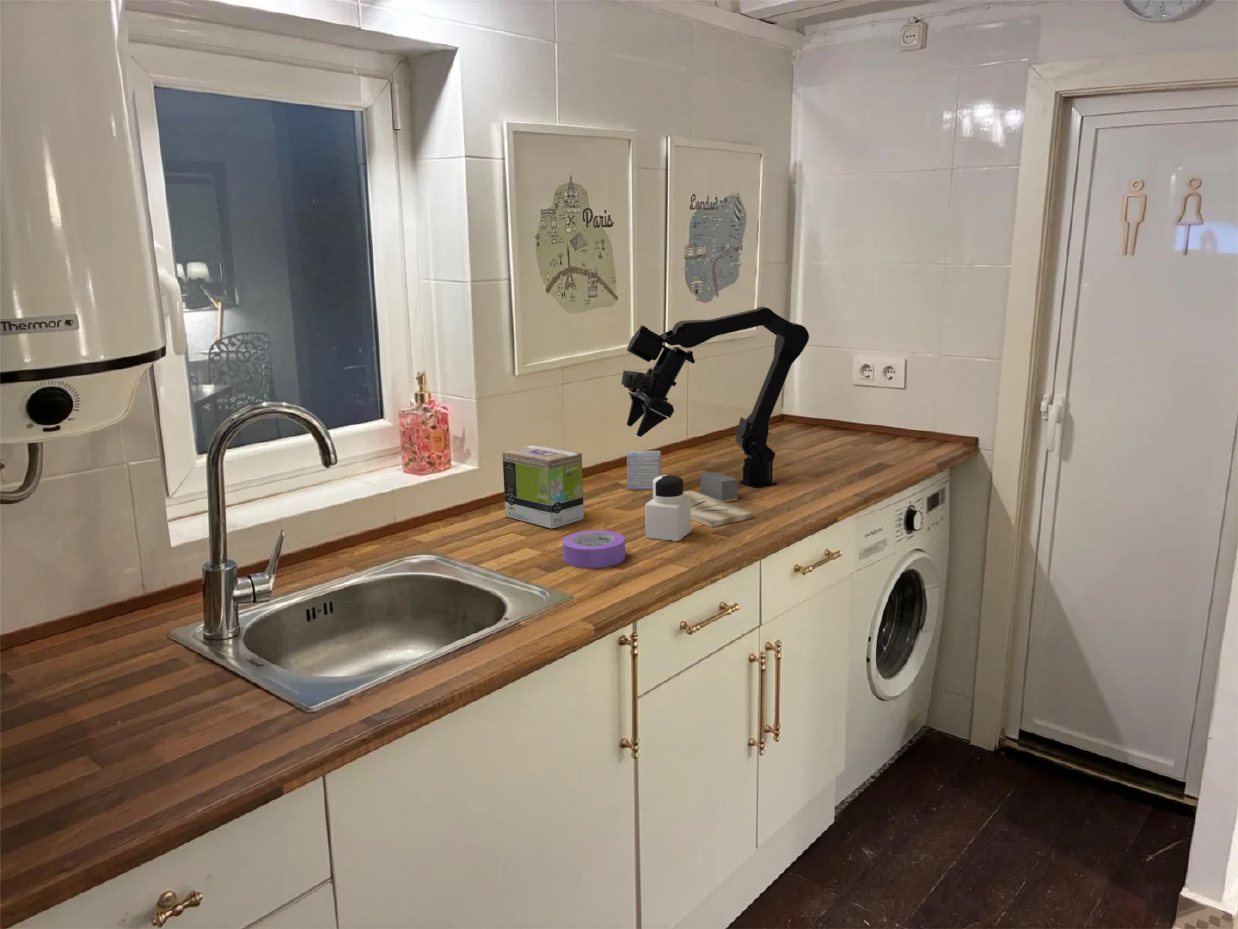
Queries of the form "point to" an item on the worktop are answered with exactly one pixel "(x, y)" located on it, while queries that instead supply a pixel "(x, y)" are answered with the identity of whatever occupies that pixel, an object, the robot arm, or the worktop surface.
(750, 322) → the robot arm
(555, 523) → the tea box
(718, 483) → the block
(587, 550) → the masking tape
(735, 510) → the board
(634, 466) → the medicine box
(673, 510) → the medicine bottle
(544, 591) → the worktop surface
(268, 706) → the worktop surface
